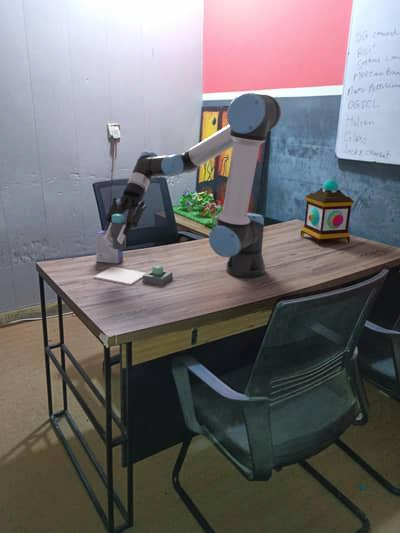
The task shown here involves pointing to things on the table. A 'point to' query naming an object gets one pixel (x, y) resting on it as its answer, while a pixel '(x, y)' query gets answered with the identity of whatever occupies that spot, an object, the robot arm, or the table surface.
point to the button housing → (157, 278)
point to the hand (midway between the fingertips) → (112, 240)
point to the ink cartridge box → (106, 249)
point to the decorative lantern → (327, 213)
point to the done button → (157, 270)
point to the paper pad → (120, 275)
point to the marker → (117, 231)
